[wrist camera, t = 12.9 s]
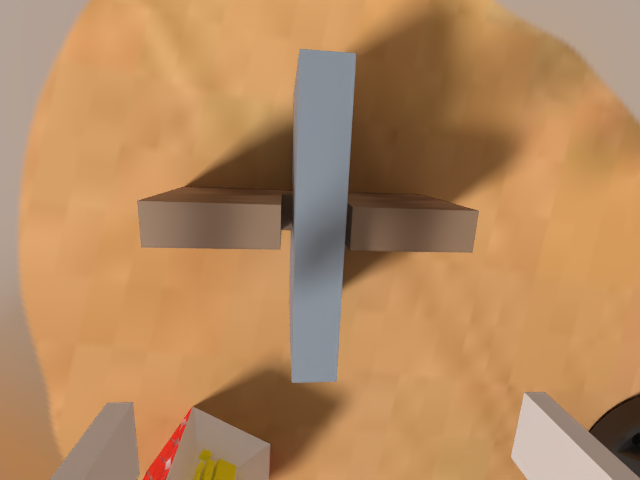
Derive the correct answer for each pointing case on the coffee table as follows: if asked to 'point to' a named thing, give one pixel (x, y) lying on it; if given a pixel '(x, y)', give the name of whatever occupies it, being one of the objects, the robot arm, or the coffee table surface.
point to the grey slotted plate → (319, 209)
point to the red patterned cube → (210, 452)
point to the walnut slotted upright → (276, 214)
